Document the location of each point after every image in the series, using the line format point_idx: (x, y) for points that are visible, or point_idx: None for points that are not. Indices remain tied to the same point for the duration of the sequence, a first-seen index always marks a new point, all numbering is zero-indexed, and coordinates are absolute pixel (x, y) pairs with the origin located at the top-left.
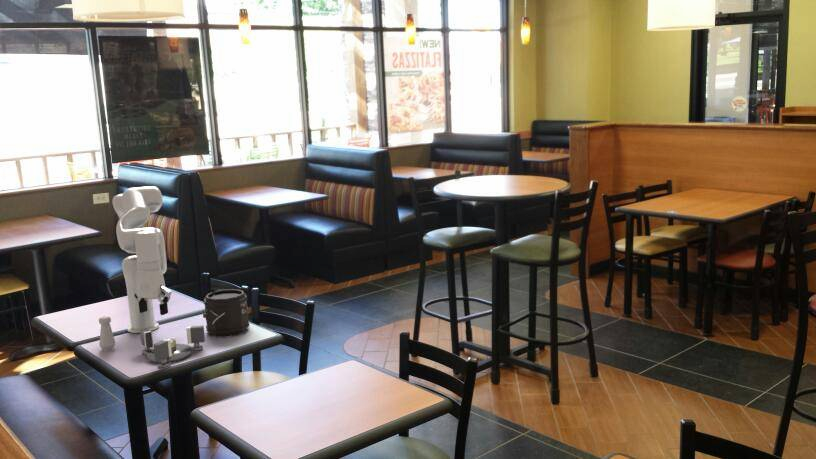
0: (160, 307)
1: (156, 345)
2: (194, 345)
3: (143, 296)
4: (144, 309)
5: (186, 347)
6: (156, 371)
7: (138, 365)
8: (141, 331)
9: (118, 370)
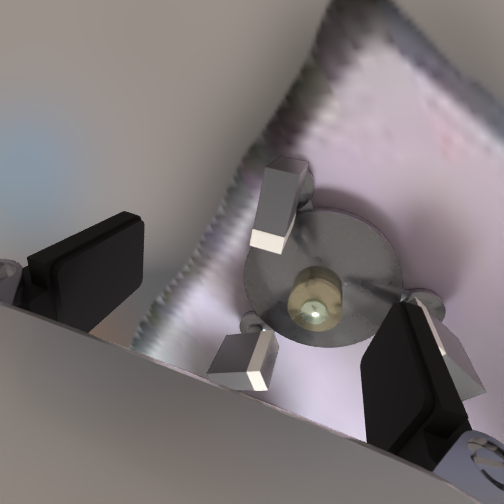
0: (71, 241)
1: (281, 170)
2: (257, 329)
3: (259, 443)
4: (378, 351)
5: (273, 314)
6: (295, 128)
7: (405, 186)
8: (468, 373)
9: (484, 119)
